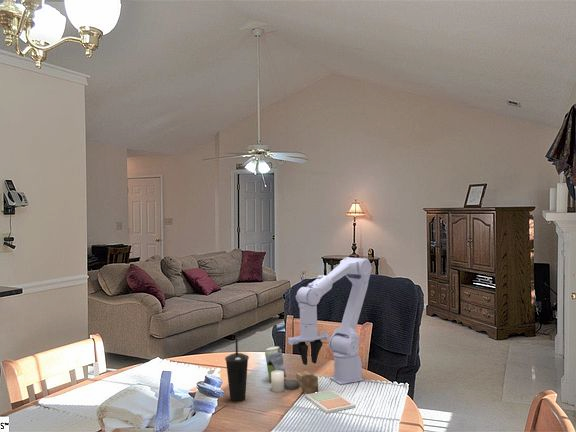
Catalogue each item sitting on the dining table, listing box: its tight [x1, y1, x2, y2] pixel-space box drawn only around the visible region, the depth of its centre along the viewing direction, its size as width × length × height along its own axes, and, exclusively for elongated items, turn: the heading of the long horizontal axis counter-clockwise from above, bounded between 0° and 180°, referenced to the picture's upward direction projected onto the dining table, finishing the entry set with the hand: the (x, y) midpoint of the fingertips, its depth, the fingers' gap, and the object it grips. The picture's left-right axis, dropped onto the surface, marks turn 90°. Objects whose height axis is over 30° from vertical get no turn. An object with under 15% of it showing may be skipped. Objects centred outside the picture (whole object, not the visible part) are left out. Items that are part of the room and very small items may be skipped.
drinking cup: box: [224, 337, 250, 403], centre depth 164 cm, size 8×8×20 cm
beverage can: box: [264, 346, 287, 381], centre depth 181 cm, size 6×7×12 cm
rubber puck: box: [284, 379, 300, 391], centre depth 174 cm, size 5×5×2 cm
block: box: [301, 373, 319, 395], centre depth 170 cm, size 4×4×5 cm
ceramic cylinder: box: [270, 370, 285, 393], centre depth 172 cm, size 4×4×6 cm
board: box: [304, 389, 356, 414], centre depth 160 cm, size 10×15×1 cm, turn 24°
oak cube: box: [295, 371, 312, 389], centre depth 176 cm, size 4×4×4 cm
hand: (309, 363), depth 170 cm, fingers open, 3 cm apart
